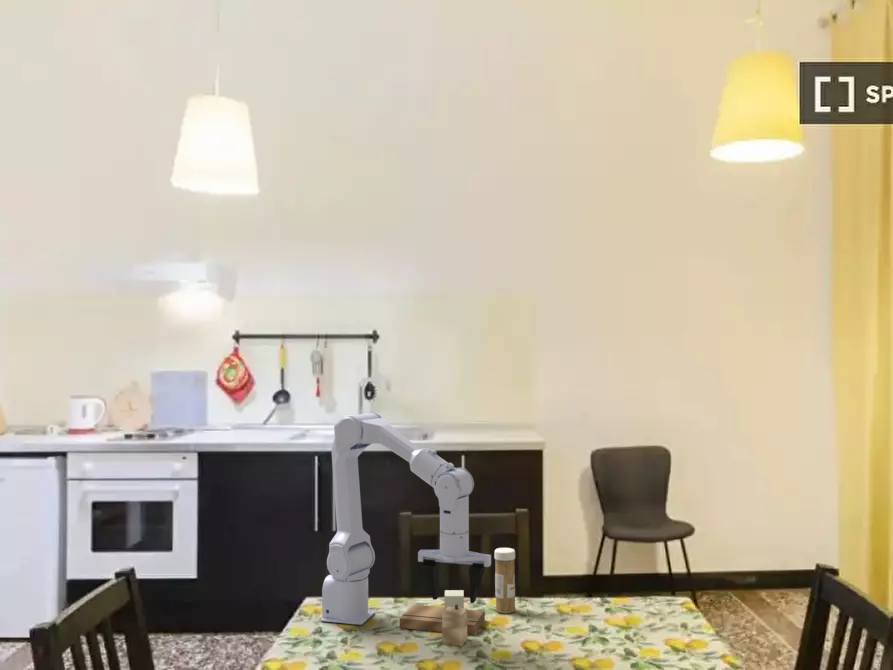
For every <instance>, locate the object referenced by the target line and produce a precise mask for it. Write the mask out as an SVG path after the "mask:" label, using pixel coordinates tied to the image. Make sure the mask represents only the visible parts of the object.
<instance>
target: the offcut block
mask: <svg viewBox="0 0 893 670" xmlns="http://www.w3.org/2000/svg"><path fill="white" fill-rule="evenodd" d="M464 591H465V590H464V589H463V590H462V589H459V590H458V589H454V590H453V589H451V590H448V589H446V590H444V607H445V610H446V608H447V607H455V604H458V608H465V606H464V605H465V603H464V602H465V596H464Z"/></svg>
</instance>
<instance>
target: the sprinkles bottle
mask: <svg viewBox="0 0 893 670" xmlns="http://www.w3.org/2000/svg"><path fill="white" fill-rule="evenodd" d="M493 558H494V561H495V564H494V565H495V566H494V567H495V568H494V569H495V573H494V585H495V586H494V590H495V592H494V596H495V607H494V608H495V609H494V610H495V612H497V613H499V614H507V615H508V614H512V613H515V611H516V580H515V579H516V575H515V559H516V551H515V548H511V547H498V548H496V549H495V550H494V556H493Z"/></svg>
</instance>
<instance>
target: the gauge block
mask: <svg viewBox="0 0 893 670" xmlns="http://www.w3.org/2000/svg"><path fill="white" fill-rule="evenodd" d="M467 609H468V608H465V607H464V608H458V604H455V607H447V608H446V610H445V611H444V612H443V613H442V632H441V633H442V635H441V637H442V638H441V639H442V640H441V641H442V644H443V645H449V646H451V645H452V646H459V647H462V646H463V645H464V644H465V643H466V641H467V639H468V634H467Z"/></svg>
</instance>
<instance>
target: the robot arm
mask: <svg viewBox="0 0 893 670" xmlns="http://www.w3.org/2000/svg"><path fill="white" fill-rule="evenodd" d="M333 427H334V428H333V431H334V440H333V443H332V447H331V463H332V465H331V466H332V476H333V492H334V507H335V508H334V509H335V518H336V519H335V521H336V533H335V534H334V536H333V537H332V539H331V541H330V542H329V544H328V551H329V552H328V555H327V557H326V558H327V559H326V566H327V570H328V572H329V574H328V575H327V576H325V578H324V580H323V584H322V589H321V607H322V608H321V609H322V612H321V618H320V621H321V622H329V623H335V624H336V623H338V624H339V623H340V624H348V625H359V626H362V625H363V624H365V623H366V622H367V621H368V620H369V619H370V618H371V617H372V616H373V615H375V614H376V612H375V610H371V609H369V574H370V573H371V572H370V569H371V568H372V567H373V565H374V564H375V560H376V554H375V550H374V548H373V546H372V543H371V535H370V534H368V533H367V532H366V530H364V527H363V518H362V516H363V515H362V503H361V502H362V501H361V490H360V489H361V487H360V475H359V474H360V473H359V472H360V471H359V459H358V457H359V456H360V455H361V454H362V453H363V452H364V451H365V449H366V448H367V447H369V446H371V445H372V444H373V445H374V444H379V445H382V446H384V447H385V448H386V449H388V450H389V451H391V452H393V453H394V454H396V455H397V456H399V457H400V458H402V459H403V460H405V461H406V462H408V464H409V469H410V472H412V473H413V474H415V475H416V476H417V477H419V478H420V479H421V480H422V481H424V482H425V483H427V484H428V485H429V486H430V487H432V488H433V492H434V494H435V496H436V497H437V499H438V507H439V549H420V550H418V552H417V562H419V563H422V565H421V569H422V570H421V571H423V573H424V575H425V577H426V580H427V583H428V584H429V586H430V587H429V588H430V591H431V596H432V597H431V598H432V600H433V601H436V600H437V599H438V598H439V597H440V566H441V563H444V564H445V563H446V564H457V565H468V566H469V565H472V566H470V567H469V569H468V575H469V582H470V583H469V585H470V587H469V588H470V591H469V603H470V604H475V603H476V601H477V596H478V589H479V587H480V583H481V580H482V577H483V574H484V573H485V571H486V569H487V568H489V567H491V565H492V554H488V553H487V554H486V553H479V552H475V551H470V550H469V549H470V546H469V544H470V543H469V541H470V540H469V538H470V537H469V536H470V535H469V534H470V533H469V531H470V527H469V526H470V525H469V524H470V523H469V521H470V518H469V515H470V511H469V509H470V507H469V506H470V505H469V503H470V501H469V500H470V499H469V498H470V497H469V496H470V494H472V492H473V490H474V487H475V481H474V478H473V476H472V474H471V473H470V472H469V471H468V469H466V468H464V467H455V465H454V464H453V463H452V462H448V461H446V460H445V459H443V458H442V456H441V457H440V456H439V455H438V454H437V452H438V451H437V450H436V449H434V448H427V447H423V448H419V447H418V446H416V445H415V444H414V443H413V442H412V441H410V440H409V439H408V438H407V437H405V436H404V435H403V434H402V433H401V432H399V431H398V430H397V429H396V428H395V427H393V425H391V423H390V421H389V419H387V418H385V417H382V415H381V414H380V413H378V412H374V411H372V412H367V413H361V414H360V413H359V414H354V415H350V414H348V415H344V416H343V417H341V418H340V420H338V421H337V423H336V424H335V425H334V426H333Z"/></svg>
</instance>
